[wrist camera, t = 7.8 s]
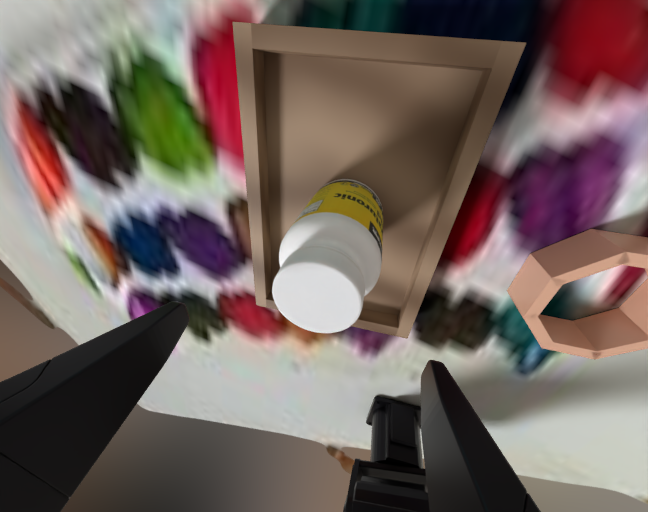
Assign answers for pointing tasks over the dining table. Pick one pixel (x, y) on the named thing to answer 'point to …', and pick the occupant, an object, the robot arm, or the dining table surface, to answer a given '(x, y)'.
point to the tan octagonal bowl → (572, 264)
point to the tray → (366, 141)
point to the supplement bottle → (330, 258)
